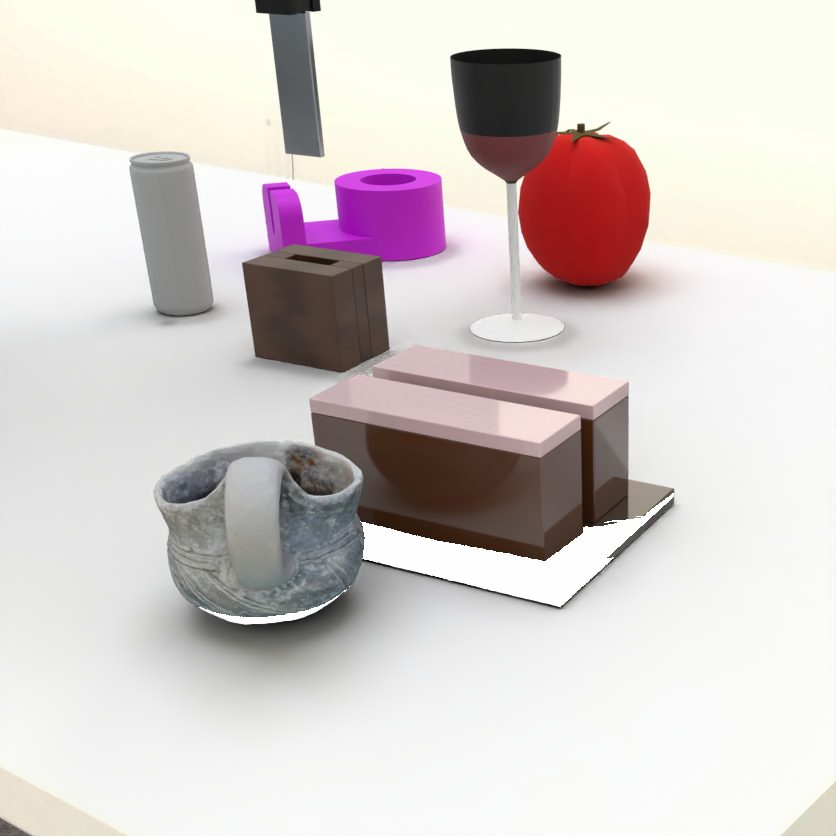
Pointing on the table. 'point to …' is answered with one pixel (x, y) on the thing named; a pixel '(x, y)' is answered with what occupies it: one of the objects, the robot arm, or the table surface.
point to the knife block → (317, 306)
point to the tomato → (586, 208)
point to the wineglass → (509, 149)
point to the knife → (297, 81)
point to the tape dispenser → (365, 215)
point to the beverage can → (171, 232)
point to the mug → (263, 527)
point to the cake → (486, 450)
